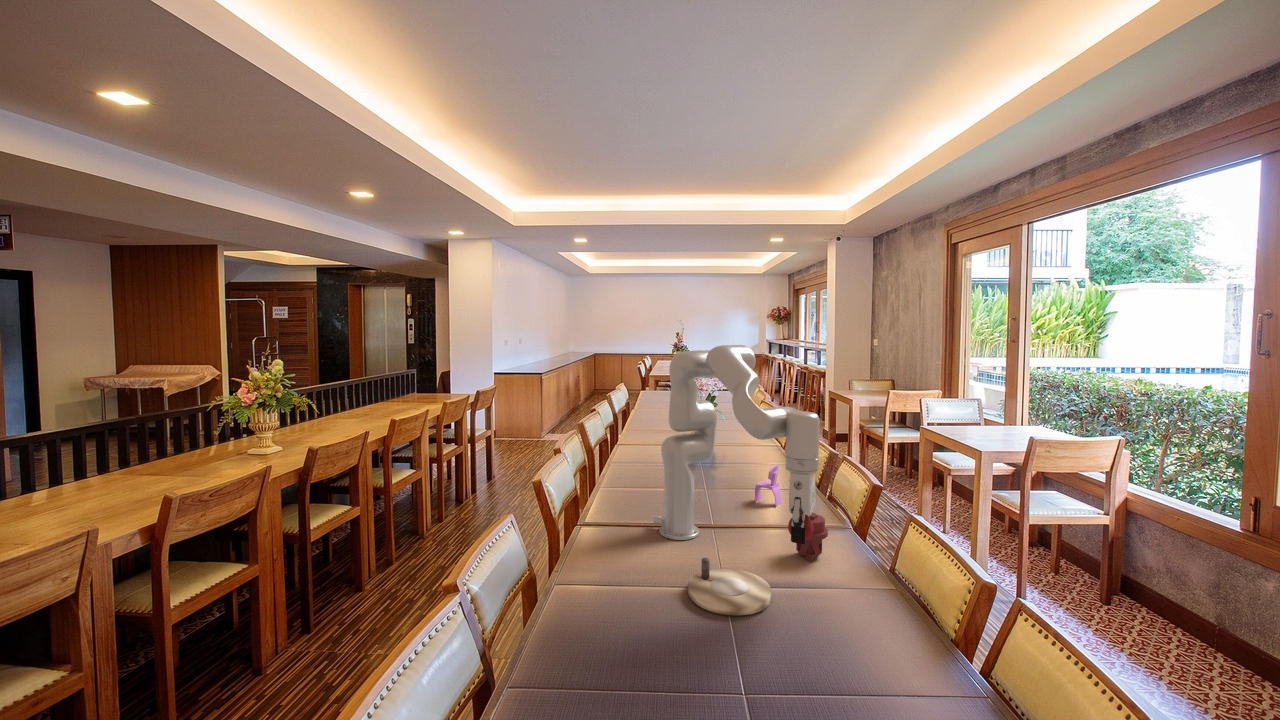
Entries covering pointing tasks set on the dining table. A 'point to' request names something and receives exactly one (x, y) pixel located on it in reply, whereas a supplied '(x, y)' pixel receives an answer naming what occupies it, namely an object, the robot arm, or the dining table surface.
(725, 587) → the turntable
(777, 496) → the toy chair
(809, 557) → the mechanical component
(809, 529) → the onion
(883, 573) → the dining table surface
